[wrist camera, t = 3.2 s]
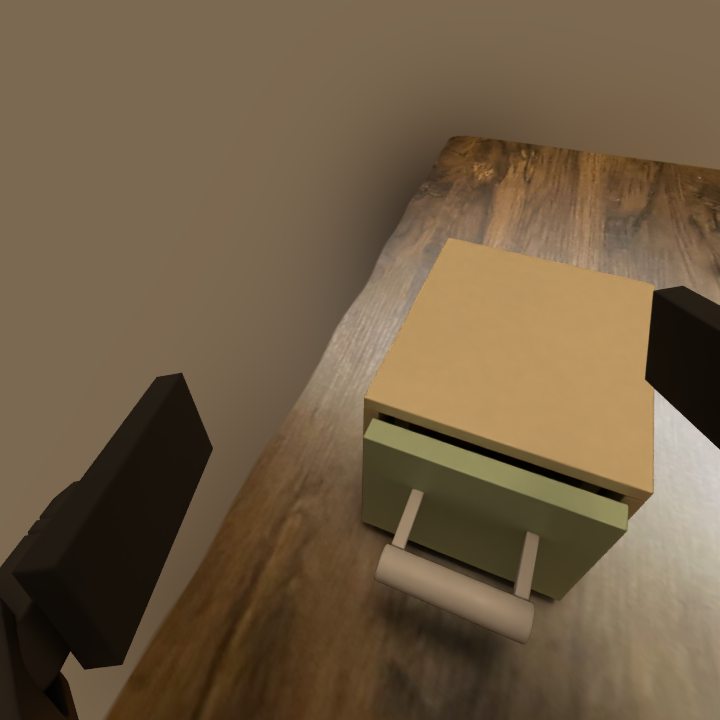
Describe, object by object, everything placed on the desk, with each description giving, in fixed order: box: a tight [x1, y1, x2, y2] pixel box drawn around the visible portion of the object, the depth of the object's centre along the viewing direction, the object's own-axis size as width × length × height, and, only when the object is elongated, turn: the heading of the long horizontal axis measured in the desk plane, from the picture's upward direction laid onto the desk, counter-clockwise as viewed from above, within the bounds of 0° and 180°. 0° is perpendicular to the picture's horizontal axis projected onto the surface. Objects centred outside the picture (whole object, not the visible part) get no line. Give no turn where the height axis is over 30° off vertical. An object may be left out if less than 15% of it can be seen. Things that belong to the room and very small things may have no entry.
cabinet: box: [362, 238, 655, 520], centre depth 30 cm, size 15×13×11 cm
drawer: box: [362, 418, 628, 644], centre depth 27 cm, size 18×11×9 cm, turn 157°
